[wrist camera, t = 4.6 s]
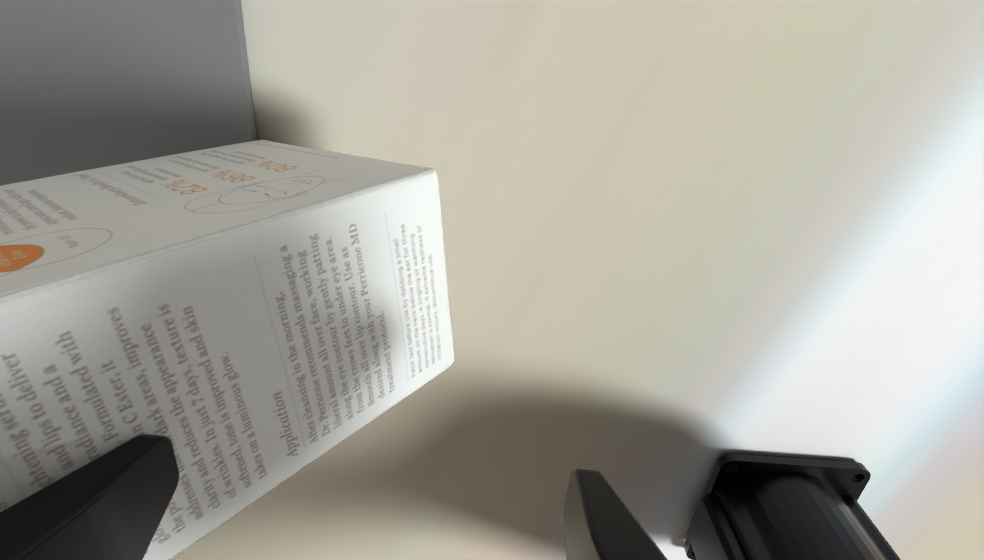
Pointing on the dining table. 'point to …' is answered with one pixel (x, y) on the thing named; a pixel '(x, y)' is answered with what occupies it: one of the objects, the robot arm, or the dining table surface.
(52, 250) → the small box
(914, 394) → the dining table surface
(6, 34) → the mat
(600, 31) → the dining table surface
